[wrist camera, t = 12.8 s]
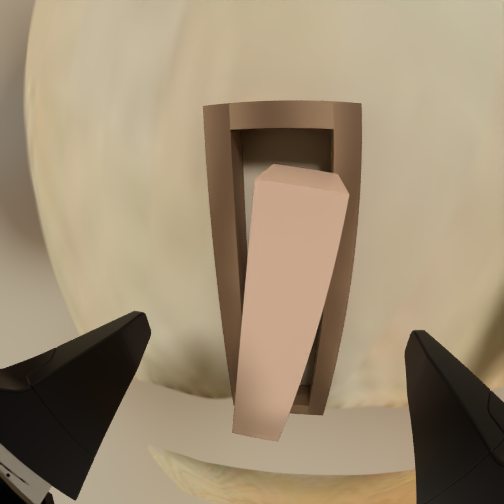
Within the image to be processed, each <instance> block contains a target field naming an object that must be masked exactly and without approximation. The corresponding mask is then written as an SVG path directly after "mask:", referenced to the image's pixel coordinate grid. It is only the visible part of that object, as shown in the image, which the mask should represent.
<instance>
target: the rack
mask: <svg viewBox="0 0 504 504" xmlns="http://www.w3.org/2000/svg"><path fill="white" fill-rule="evenodd" d="M203 114H204V133H205V149H206V164H207V178H208V191H209V203H210V215H211V226H212V237H213V247H214V257H215V266H216V276H217V285H218V293H219V302H220V310H221V318H222V326H223V334H224V342H225V349H226V356H227V364H228V371H229V377H230V384H231V391H232V397H233V404H234V406H235V395H236V383H237V372H238V360H239V349H240V337H241V326H242V315H243V304H244V292H245V281H246V270H247V239H246V219H245V198H244V177H243V155H242V133H241V129H268V128H307V129H331V172H330V173H335V174H338V175H339V177H340V179H341V180H342V182H343V184H344V186H345V188H346V189H347V191H348V193H349V199H348V204H347V210H346V215H345V220H344V224H343V229H342V234H341V239H340V243H339V248H338V252H337V256H336V260H335V265H334V269H333V273H332V277H331V281H330V285H329V289H328V292H327V296H326V300H325V304H324V307H323V311H322V314H321V318H320V325H319V333H318V340H317V348H316V355H315V361H314V368H313V374H312V380H311V386H309V385H299V388H298V390H297V393H296V396H295V399H294V402H293V404H292V407H291V410H290V413H295V414H310V415H323V413H324V410H325V406H326V402H327V398H328V395H329V391H330V387H331V383H332V379H333V374H334V370H335V366H336V361H337V357H338V352H339V347H340V342H341V337H342V332H343V327H344V321H345V316H346V310H347V304H348V298H349V291H350V285H351V278H352V270H353V262H354V254H355V245H356V236H357V225H358V213H359V200H360V183H361V155H362V109H361V103H349V102H333V101H257V102H240V103H228V104H217V105H208V106H203Z"/></svg>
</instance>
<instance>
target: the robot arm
mask: <svg viewBox="0 0 504 504" xmlns="http://www.w3.org/2000/svg"><path fill="white" fill-rule="evenodd" d="M150 336H151V329H150V326H149V323H148V320H147V317H146V314H145V313H143V312H139V311H133V312H131V313H129V314H127V315H124V316H122V317H120V318H118V319H116V320H114V321H112V322H110V323H107V324H105V325H103V326H101V327H99V328H97V329H95V330H92V331H90V332H88V333H86V334H84V335H82V336H79V337H77V338H75V339H73V340H71V341H69V342H67V343H64V344H62V345H60V346H58V347H57V348H54V349H51V350H49V351H47V352H45V353H43V354H40V355H38V356H35V357H33V358H31V359H28V360H26V361H23V362H20V363H17V364H15V365H12V366H9V367H6V368H3V369H0V504H54V501H53V497H52V494H50V493H49V492H48V491H49V490H50V488H51V486H53V487H55V488H56V489H58V490H59V491H61V492H62V493H64V494H65V495H67V496H68V497H70V498H72V499H73V500H76V499H77V497H78V495H79V493H80V490H81V488H82V486H83V483H84V481H85V479H86V476H87V474H88V472H89V469H90V467H91V465H92V463H93V460H94V457H95V456H96V454H97V451H98V449H99V447H100V445H101V443H102V440H103V438H104V436H105V434H106V432H107V430H108V428H109V426H110V424H111V421H112V419H113V417H114V415H115V413H116V411H117V409H118V407H119V405H120V403H121V401H122V399H123V397H124V395H125V393H126V391H127V389H128V387H129V385H130V383H131V381H132V379H133V377H134V375H135V373H136V371H137V369H138V367H139V364H140V362H141V359H142V357H143V354H144V351H145V349H146V346H147V344H148V341H149V339H150ZM405 366H406V381H407V397H408V404H409V411H410V418H411V425H412V434H413V443H414V453H415V469H416V495H417V504H504V402H503V401H502V400H501V399H500V398H499V397H497V396H496V395H495V394H494V393H493V392H492V391H490V389H489V388H488V387H487V386H486V385H485V384H484V383H483V382H482V381H481V380H480V379H479V378H477V377H476V376H475V375H474V374H473V373H472V372H471V371H470V370H469V369H468V368H467V367H466V366H464V365H463V364H462V363H461V362H460V361H459V360H458V359H457V358H456V357H454V356H453V355H452V354H451V353H450V352H449V351H448V350H447V349H445V348H444V347H443V346H442V345H441V344H440V343H439V342H438V341H436V340H435V339H434V338H433V337H432V336H431V335H429V334H428V333H427V332H426V331H425V330H413V331H412V332H411V334H410V337H409V340H408V343H407V346H406V349H405Z"/></svg>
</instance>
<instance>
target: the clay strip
mask: <svg viewBox="0 0 504 504" xmlns="http://www.w3.org/2000/svg"><path fill="white" fill-rule="evenodd" d="M348 199H349V193H348V191H347V189H346V188H345V186H344V184H343V182H342V180H341V179H340V177H339V175H338V174H335V173H330V172H324V171H318V170H312V169H305V168H299V167H292V166H285V165H278V164H272V165H271V166H270V167H269V168H268V169H266V170H265V171H264V172H263V173H262V174H261V175H259V176H258V177H257V178H256V179H255V183H254V194H253V205H252V216H251V226H250V237H249V248H248V259H247V270H246V281H245V292H244V304H243V315H242V326H241V337H240V349H239V360H238V372H237V383H236V395H235V407H234V419H233V430H232V432H233V433H236V434H241V435H246V436H250V437H255V438H260V439H265V440H271V441H277V442H278V441H279V438H280V436H281V433H282V431H283V428H284V425H285V423H286V421H287V418H288V415H289V413H290V410H291V407H292V404H293V402H294V399H295V396H296V393H297V390H298V388H299V385H300V382H301V379H302V376H303V373H304V370H305V367H306V364H307V361H308V358H309V355H310V351H311V348H312V345H313V342H314V338H315V335H316V332H317V328H318V325H319V321H320V318H321V314H322V311H323V307H324V304H325V300H326V296H327V292H328V289H329V285H330V281H331V277H332V273H333V269H334V265H335V260H336V256H337V252H338V248H339V243H340V239H341V234H342V229H343V224H344V220H345V215H346V210H347V204H348Z"/></svg>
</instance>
